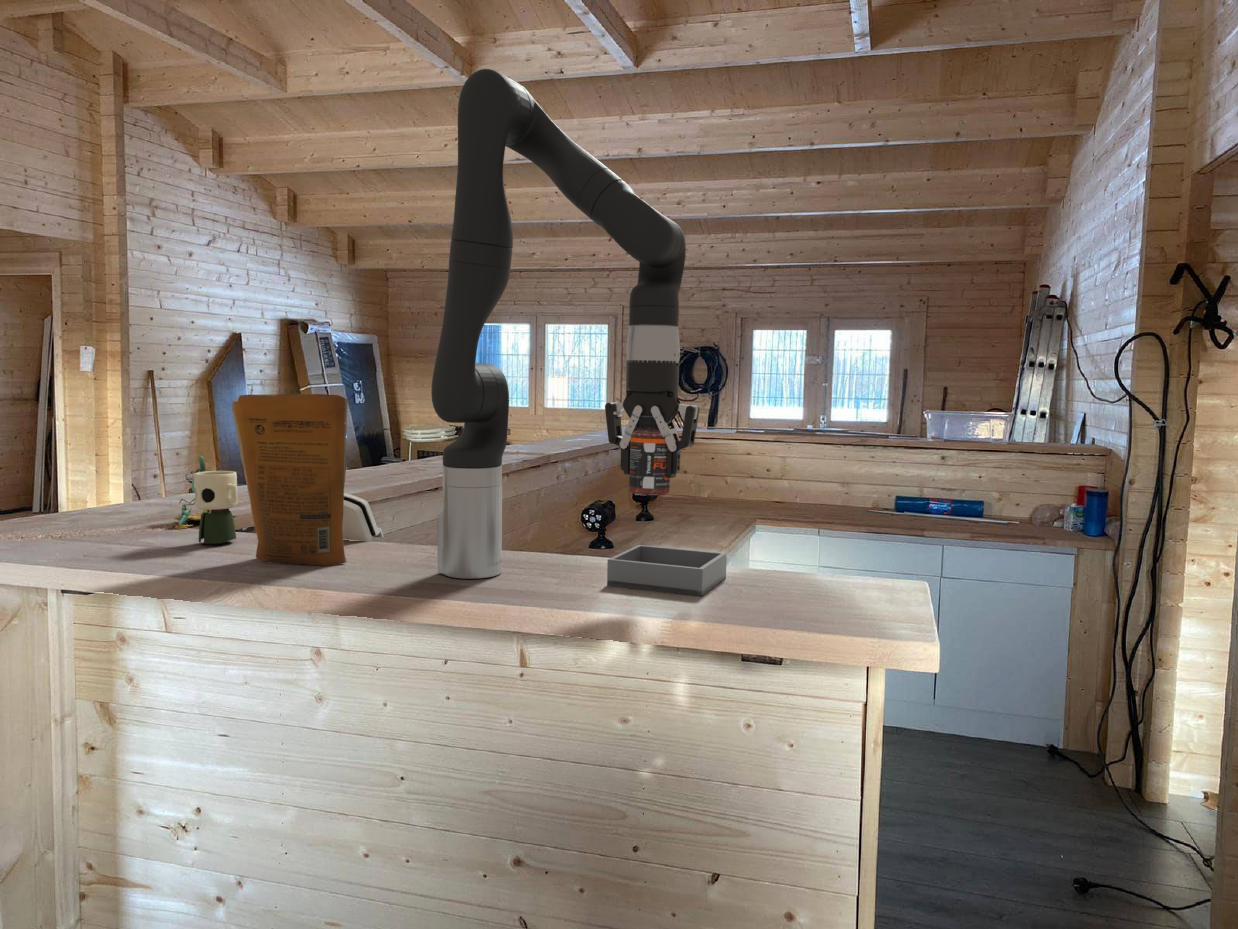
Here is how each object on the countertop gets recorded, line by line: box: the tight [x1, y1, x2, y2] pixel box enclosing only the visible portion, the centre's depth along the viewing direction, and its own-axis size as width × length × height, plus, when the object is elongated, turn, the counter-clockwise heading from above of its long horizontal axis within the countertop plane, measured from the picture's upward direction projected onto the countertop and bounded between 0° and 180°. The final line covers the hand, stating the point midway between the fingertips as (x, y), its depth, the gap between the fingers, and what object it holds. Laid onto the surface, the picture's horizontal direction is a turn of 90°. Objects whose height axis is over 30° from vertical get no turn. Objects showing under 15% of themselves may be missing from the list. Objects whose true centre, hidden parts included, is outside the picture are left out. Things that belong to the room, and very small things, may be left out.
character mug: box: [193, 470, 238, 545], centre depth 160 cm, size 11×7×13 cm, turn 60°
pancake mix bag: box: [231, 393, 349, 567], centre depth 145 cm, size 7×19×28 cm, turn 79°
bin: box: [606, 544, 728, 597], centre depth 137 cm, size 15×13×4 cm
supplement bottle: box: [628, 416, 671, 497], centre depth 127 cm, size 6×6×11 cm
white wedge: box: [342, 492, 384, 542], centre depth 169 cm, size 17×5×10 cm, turn 69°
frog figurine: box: [173, 455, 220, 530], centre depth 183 cm, size 10×18×15 cm, turn 160°
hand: (650, 475), depth 127 cm, fingers closed on supplement bottle, 6 cm apart
